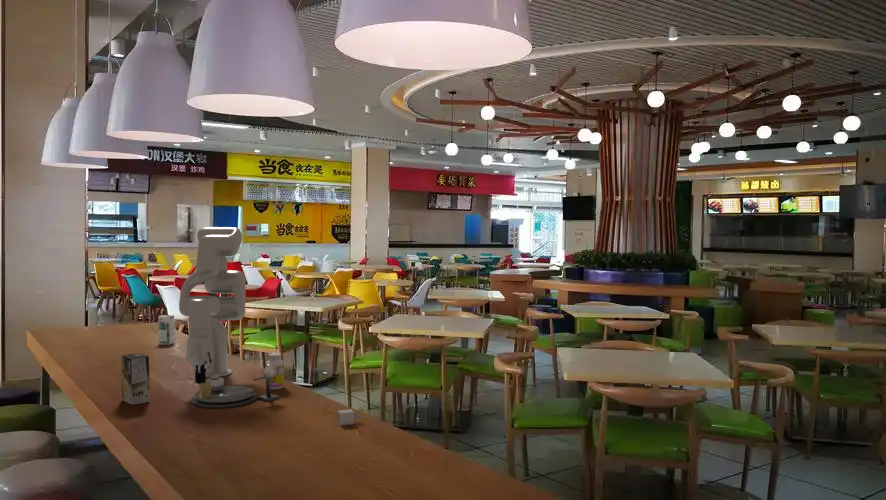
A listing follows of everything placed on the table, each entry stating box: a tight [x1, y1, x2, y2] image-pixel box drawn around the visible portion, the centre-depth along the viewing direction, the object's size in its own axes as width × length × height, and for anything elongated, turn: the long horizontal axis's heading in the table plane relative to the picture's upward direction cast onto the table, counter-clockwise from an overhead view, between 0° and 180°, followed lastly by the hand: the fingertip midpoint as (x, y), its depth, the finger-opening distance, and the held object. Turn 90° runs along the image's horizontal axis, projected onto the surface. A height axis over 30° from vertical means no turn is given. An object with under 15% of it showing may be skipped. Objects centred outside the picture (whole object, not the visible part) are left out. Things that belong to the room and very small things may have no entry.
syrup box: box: [157, 314, 175, 346], centre depth 347 cm, size 6×6×14 cm
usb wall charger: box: [336, 409, 362, 427], centre depth 214 cm, size 4×7×4 cm, turn 112°
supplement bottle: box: [265, 352, 285, 391], centre depth 258 cm, size 7×7×13 cm
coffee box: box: [120, 352, 151, 406], centre depth 238 cm, size 9×6×16 cm
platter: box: [194, 381, 256, 404], centre depth 240 cm, size 20×20×6 cm
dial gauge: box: [252, 364, 280, 403], centre depth 240 cm, size 5×9×12 cm, turn 143°
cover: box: [205, 374, 225, 392], centre depth 244 cm, size 6×6×6 cm
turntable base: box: [191, 392, 259, 409], centre depth 241 cm, size 22×22×1 cm
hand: (200, 382), depth 249 cm, fingers closed
